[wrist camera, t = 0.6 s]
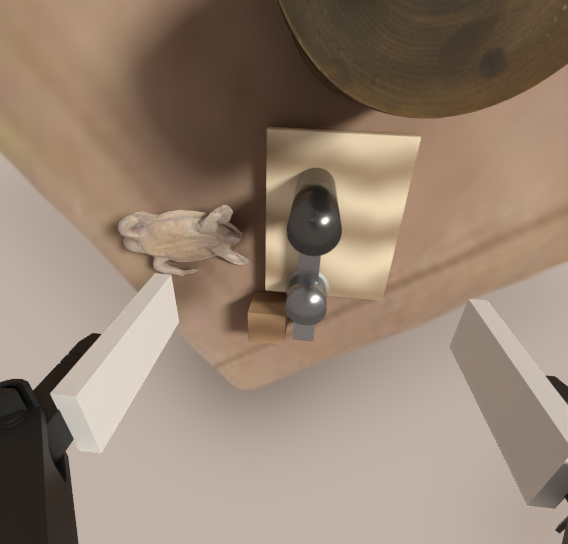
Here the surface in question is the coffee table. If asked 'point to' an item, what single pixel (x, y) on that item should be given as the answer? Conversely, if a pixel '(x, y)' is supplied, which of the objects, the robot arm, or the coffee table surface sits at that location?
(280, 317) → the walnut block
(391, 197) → the board
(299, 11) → the wooden container
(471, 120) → the coffee table surface
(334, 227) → the lever
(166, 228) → the beige animal figurine
